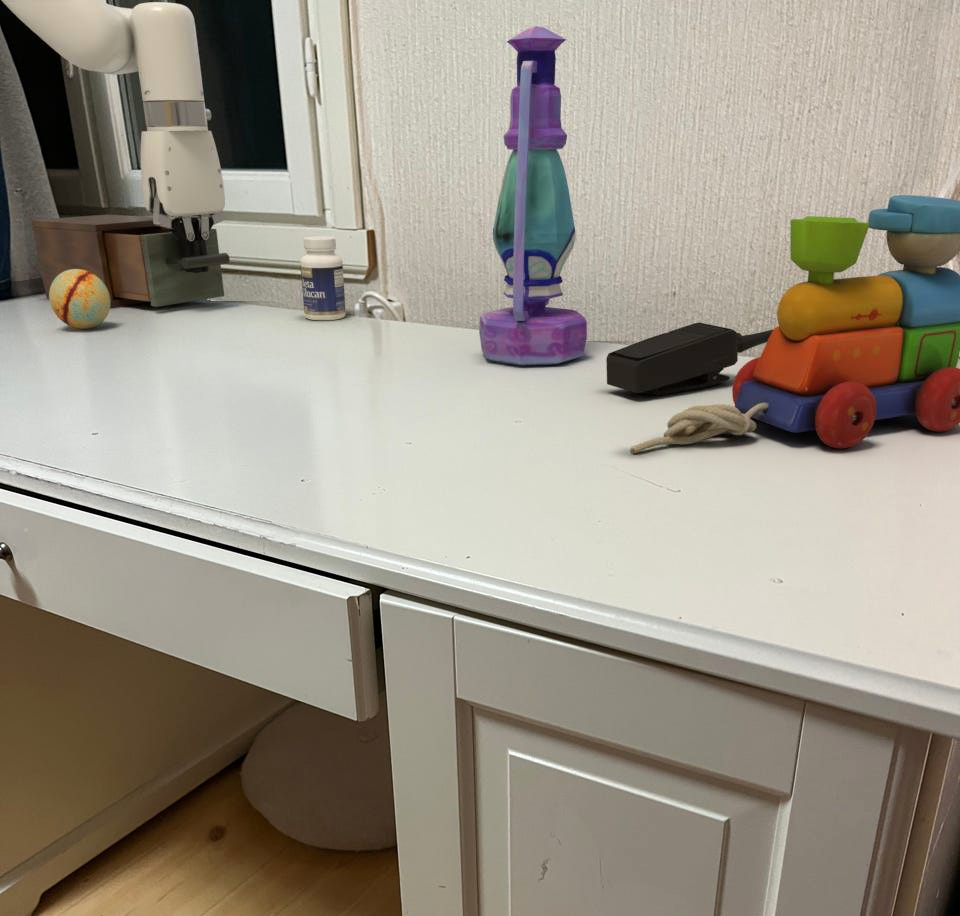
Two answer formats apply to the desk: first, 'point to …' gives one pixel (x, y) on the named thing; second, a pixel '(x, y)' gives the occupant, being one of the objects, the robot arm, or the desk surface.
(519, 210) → the lantern
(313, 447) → the desk surface
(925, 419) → the toy train
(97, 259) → the cabinet
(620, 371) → the walkie-talkie
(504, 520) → the desk surface
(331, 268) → the pill bottle
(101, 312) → the ball
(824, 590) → the desk surface
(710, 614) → the desk surface
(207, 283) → the drawer
